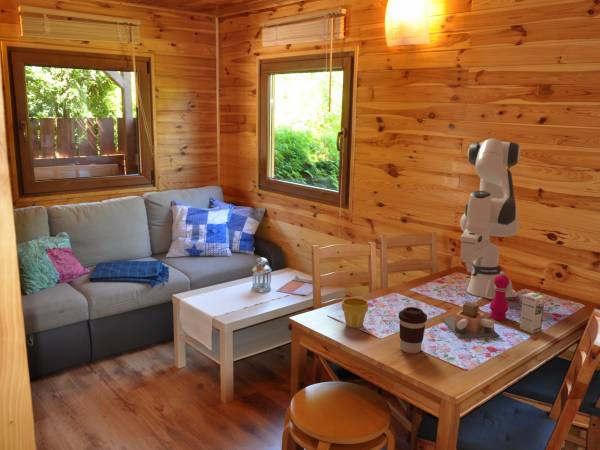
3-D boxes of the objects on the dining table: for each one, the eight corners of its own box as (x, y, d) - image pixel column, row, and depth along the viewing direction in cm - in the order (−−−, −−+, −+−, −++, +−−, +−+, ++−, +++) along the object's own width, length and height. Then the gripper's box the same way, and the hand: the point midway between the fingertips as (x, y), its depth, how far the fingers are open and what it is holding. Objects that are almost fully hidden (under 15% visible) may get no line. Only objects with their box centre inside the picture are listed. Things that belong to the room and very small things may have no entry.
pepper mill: (485, 317, 217) (490, 271, 213) (493, 312, 222) (497, 268, 218) (502, 322, 212) (507, 275, 208) (509, 317, 217) (514, 271, 213)
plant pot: (346, 317, 214) (347, 295, 212) (370, 322, 210) (371, 299, 208) (337, 326, 205) (338, 303, 203) (362, 331, 200) (363, 308, 198)
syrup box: (532, 333, 201) (536, 298, 198) (519, 328, 206) (522, 294, 203) (541, 330, 204) (545, 296, 201) (527, 325, 209) (531, 291, 206)
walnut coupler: (465, 322, 209) (467, 301, 207) (476, 325, 206) (478, 304, 204) (461, 325, 205) (463, 304, 203) (472, 328, 202) (474, 307, 201)
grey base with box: (441, 319, 214) (442, 305, 212) (478, 318, 215) (479, 305, 214) (458, 338, 196) (459, 323, 195) (498, 337, 198) (500, 322, 196)
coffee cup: (407, 357, 180) (409, 317, 177) (391, 345, 189) (393, 307, 186) (430, 352, 184) (433, 313, 181) (413, 341, 193) (416, 303, 190)
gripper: (479, 228, 207) (476, 261, 210) (458, 237, 192) (455, 272, 195) (495, 230, 203) (491, 264, 206) (475, 240, 188) (472, 276, 191)
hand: (474, 268), depth 200 cm, fingers open, 8 cm apart
